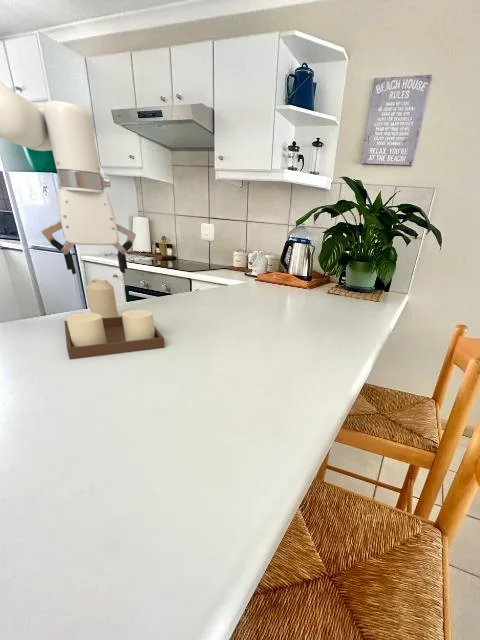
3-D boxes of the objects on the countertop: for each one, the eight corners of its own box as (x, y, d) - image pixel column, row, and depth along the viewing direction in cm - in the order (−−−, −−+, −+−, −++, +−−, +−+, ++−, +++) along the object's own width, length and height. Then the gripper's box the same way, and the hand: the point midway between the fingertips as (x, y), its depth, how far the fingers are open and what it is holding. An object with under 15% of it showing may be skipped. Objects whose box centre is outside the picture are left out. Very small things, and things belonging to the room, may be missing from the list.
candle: (89, 322, 77) (80, 278, 72) (112, 318, 81) (105, 277, 76) (99, 328, 74) (90, 283, 69) (123, 323, 78) (116, 281, 73)
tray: (70, 363, 57) (67, 348, 56) (67, 333, 69) (64, 320, 68) (165, 351, 65) (164, 338, 64) (147, 326, 78) (145, 314, 76)
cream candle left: (74, 355, 58) (66, 322, 55) (73, 344, 62) (65, 314, 60) (109, 350, 61) (103, 320, 58) (105, 341, 65) (100, 312, 62)
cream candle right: (128, 348, 63) (124, 318, 60) (124, 339, 67) (119, 310, 64) (158, 344, 66) (155, 316, 63) (152, 336, 70) (149, 308, 67)
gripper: (125, 188, 71) (137, 269, 79) (28, 179, 63) (52, 270, 71) (131, 187, 66) (143, 274, 74) (26, 177, 57) (52, 276, 65)
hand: (99, 272), depth 72 cm, fingers open, 9 cm apart
